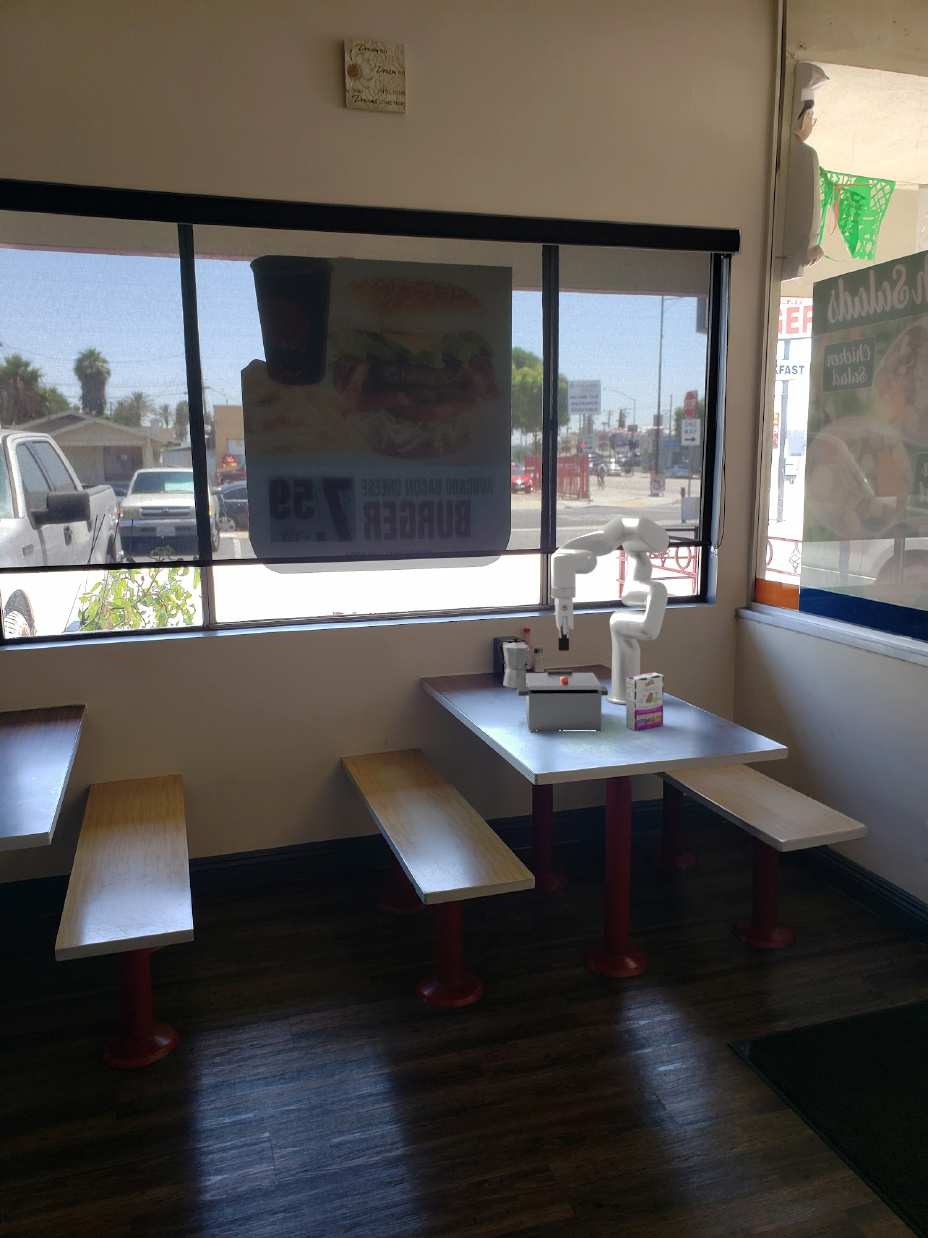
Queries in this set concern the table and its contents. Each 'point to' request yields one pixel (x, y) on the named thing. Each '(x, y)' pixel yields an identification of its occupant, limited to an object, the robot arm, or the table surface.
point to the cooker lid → (562, 681)
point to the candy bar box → (644, 701)
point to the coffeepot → (514, 663)
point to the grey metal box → (563, 709)
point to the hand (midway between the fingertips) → (563, 650)
